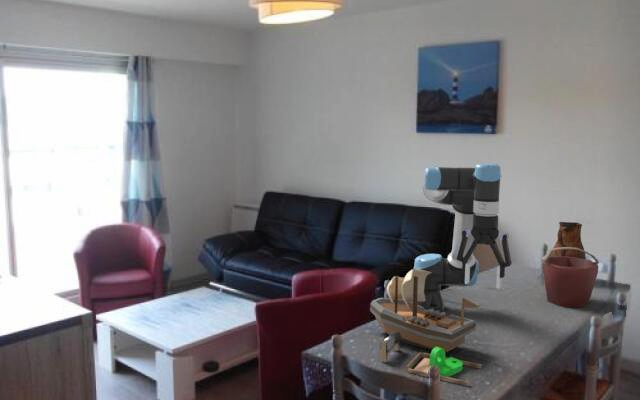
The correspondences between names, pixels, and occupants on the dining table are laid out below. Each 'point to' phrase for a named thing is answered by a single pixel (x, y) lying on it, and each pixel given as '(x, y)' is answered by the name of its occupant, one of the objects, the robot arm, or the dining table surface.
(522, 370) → the dining table surface
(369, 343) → the dining table surface
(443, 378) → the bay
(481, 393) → the dining table surface
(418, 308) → the sailing ship
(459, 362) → the mechanical part
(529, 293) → the dining table surface
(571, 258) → the bucket
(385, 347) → the winch
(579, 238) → the pitcher
